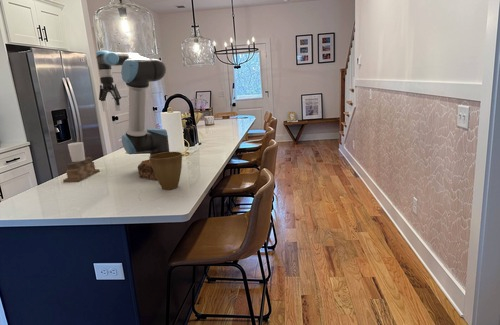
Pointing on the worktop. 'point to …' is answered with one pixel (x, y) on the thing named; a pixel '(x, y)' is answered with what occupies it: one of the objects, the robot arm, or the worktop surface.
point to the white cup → (76, 151)
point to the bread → (146, 170)
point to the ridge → (80, 170)
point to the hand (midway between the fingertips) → (111, 111)
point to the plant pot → (167, 168)
